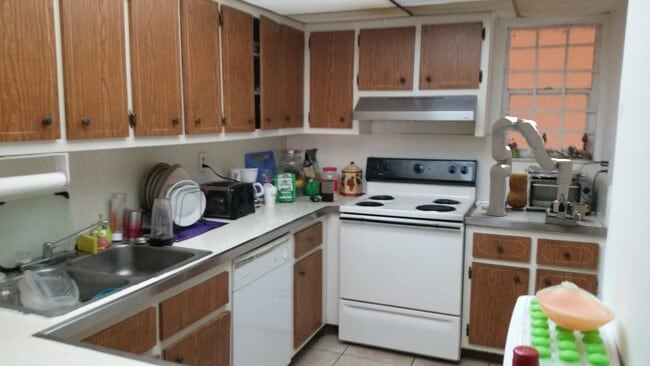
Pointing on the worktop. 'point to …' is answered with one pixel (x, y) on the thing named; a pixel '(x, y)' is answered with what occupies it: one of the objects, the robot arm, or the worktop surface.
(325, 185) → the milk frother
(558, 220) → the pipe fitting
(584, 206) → the flower pot
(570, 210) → the pneumatic valve
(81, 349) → the worktop surface
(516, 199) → the butternut squash
